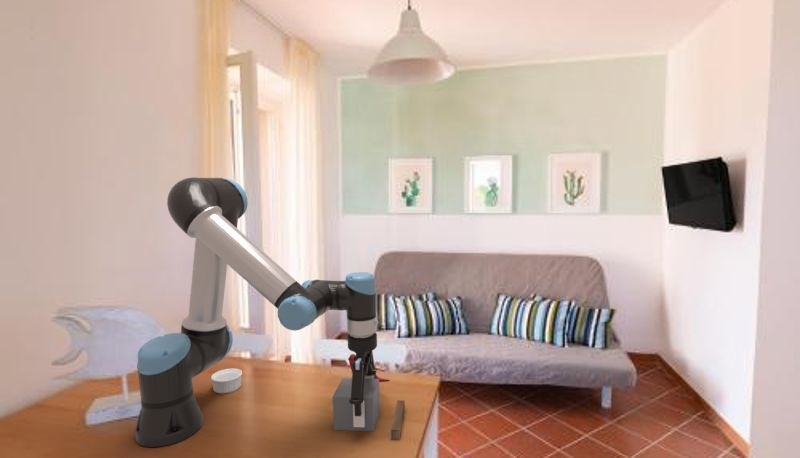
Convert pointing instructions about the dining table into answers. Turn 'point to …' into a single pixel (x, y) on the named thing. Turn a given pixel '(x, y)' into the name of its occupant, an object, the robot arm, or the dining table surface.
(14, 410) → the dining table surface
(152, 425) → the robot arm
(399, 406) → the strip
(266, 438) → the dining table surface
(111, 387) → the dining table surface
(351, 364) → the decorative bird figurine
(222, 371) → the ramekin
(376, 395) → the gray storage cube
